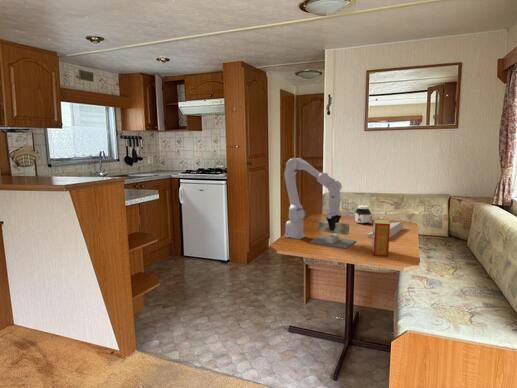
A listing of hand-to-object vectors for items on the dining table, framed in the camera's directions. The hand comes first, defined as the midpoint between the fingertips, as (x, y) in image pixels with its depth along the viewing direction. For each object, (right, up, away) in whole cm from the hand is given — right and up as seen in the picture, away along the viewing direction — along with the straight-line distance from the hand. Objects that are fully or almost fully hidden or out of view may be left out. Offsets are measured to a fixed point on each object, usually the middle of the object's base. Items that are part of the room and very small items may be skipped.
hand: (333, 229), depth 195 cm
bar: (0, -2, 0) cm, 2 cm away
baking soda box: (+19, -10, -18) cm, 28 cm away
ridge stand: (0, -7, +1) cm, 7 cm away
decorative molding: (+35, -5, +22) cm, 42 cm away
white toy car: (+31, -1, +46) cm, 56 cm away
